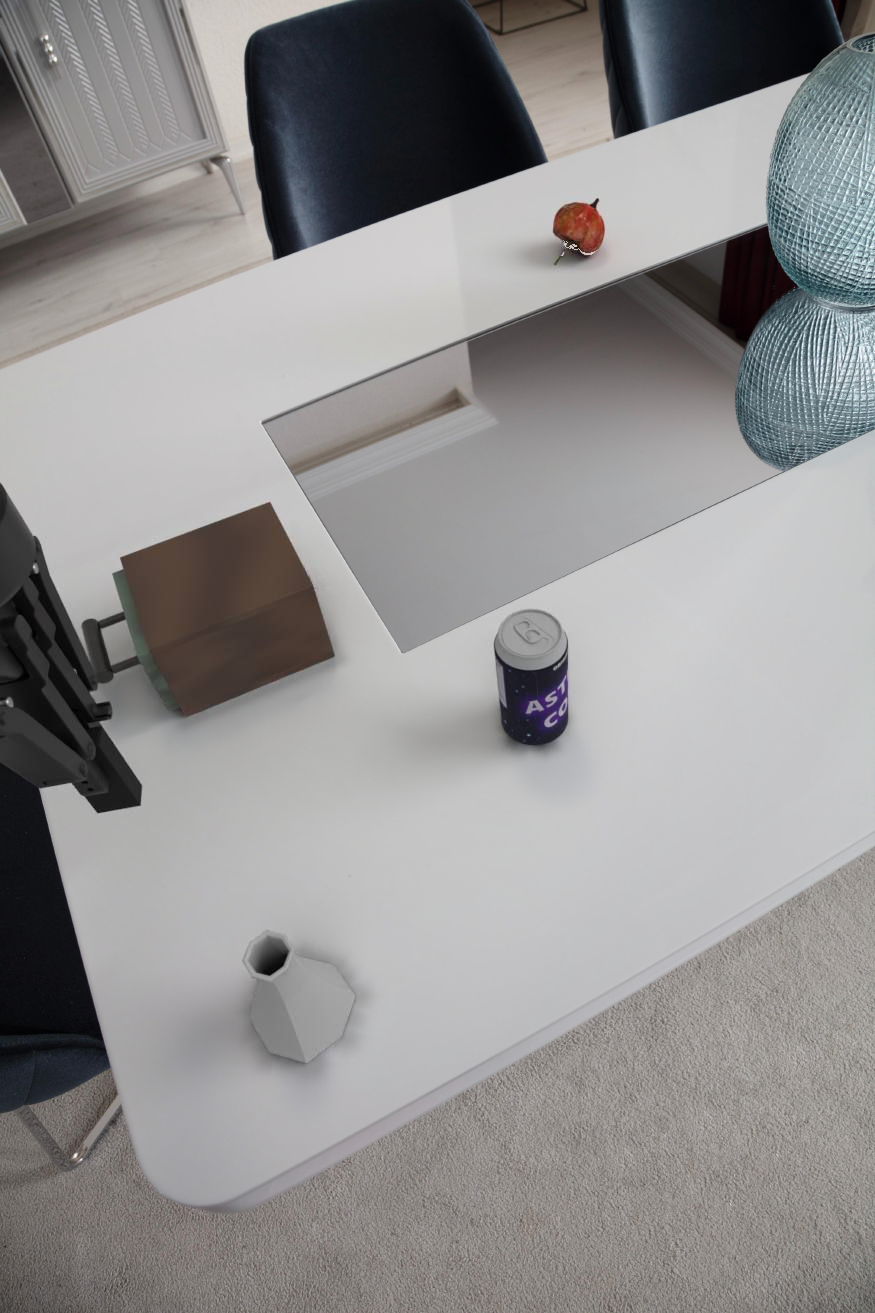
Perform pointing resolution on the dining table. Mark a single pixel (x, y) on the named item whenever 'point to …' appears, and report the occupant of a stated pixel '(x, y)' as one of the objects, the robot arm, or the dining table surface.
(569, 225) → the pomegranate
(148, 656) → the drawer
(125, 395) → the dining table surface
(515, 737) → the beverage can
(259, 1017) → the flask
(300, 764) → the dining table surface
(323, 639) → the cabinet
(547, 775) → the dining table surface
